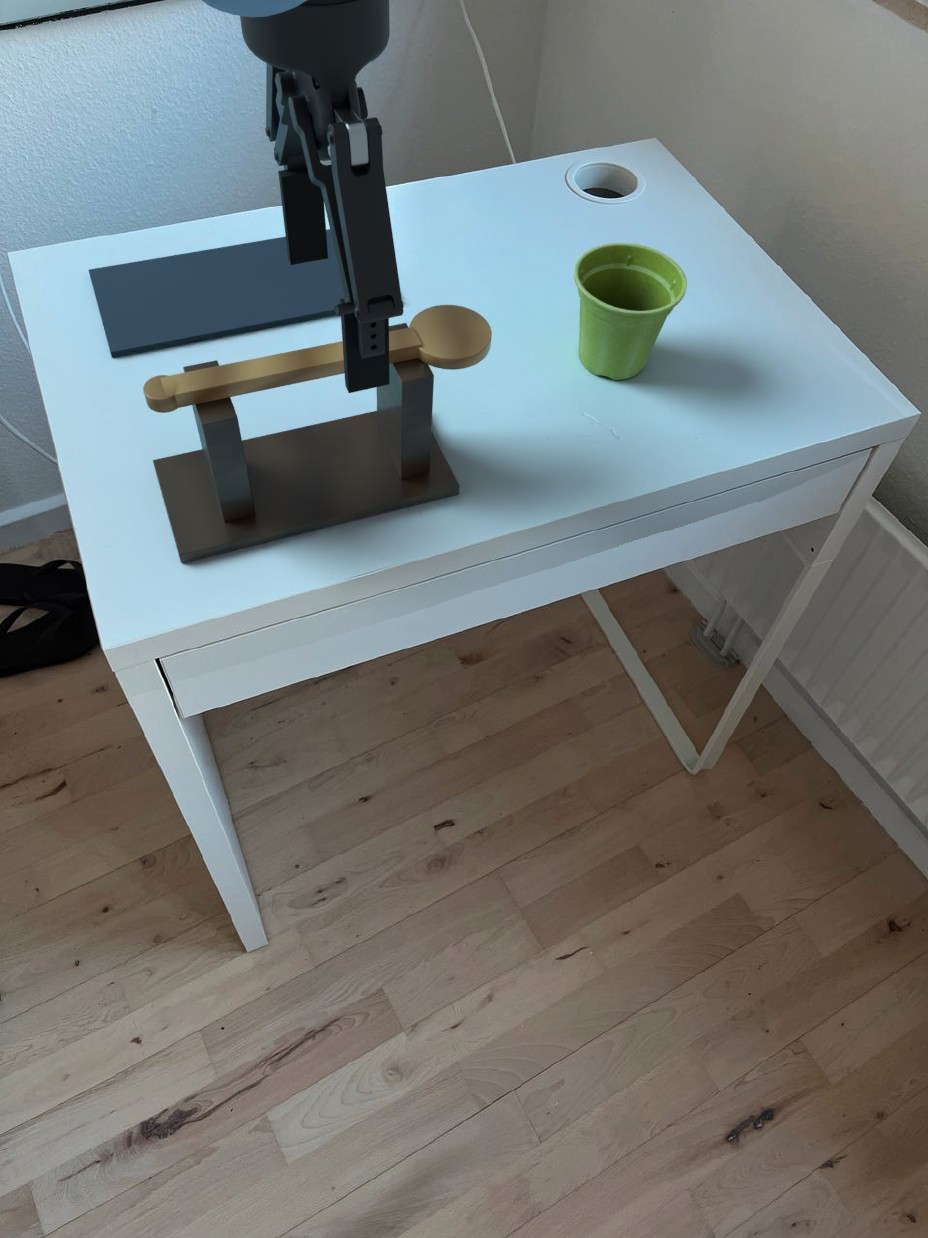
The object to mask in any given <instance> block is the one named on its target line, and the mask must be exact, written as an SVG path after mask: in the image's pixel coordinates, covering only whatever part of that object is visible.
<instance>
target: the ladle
mask: <svg viewBox="0 0 928 1238" xmlns="http://www.w3.org/2000/svg"><path fill="white" fill-rule="evenodd" d="M408 327H409V328H406V329H401V330H396V331H391V332H389V364H392V363H397V362H401V361H406V360H411V359H416V358H418V359H420V360H421V361H422V362H424V363H426V364H428V365H429V367H434V368H436V369H442V370H451V371H452V370H455V371H456V370H463V369H467V368H471V367H473V366H475V365H477V364H479V363H481V362H482V361H483V360H484V359H485V358H486V357H487V356H488V355H489V353H490V351H491V346H492V338H493V333H492V327H491V325H490V323H489V322H488V321H487V319H486V318H485V316H483V315H481V314H480V313H479V312H477V311H475V310H473V309H471V308H468V307H466V306H462V305H457V304H439V305H434V306H430V307H427V308H425V309H423V310H421V311H420V312H418V313H417V314H415V315H414V317H413V318H412V320H411V321H410V322H409V325H408ZM343 374H344V375H345V373H344V357H343V341H342V340H340V341H336V342H331V343H326V344H321V345H315V346H311V347H305V348H301V349H295V350H291V351H286V352H280V353H276V354H271V355H265V356H261V357H256V358H255V357H254V358H250V359H246V360H241V361H236V362H231V363H226V364H219V366H215V367H210V368H205V369H200V370H195V371H190V372H185V373H184V372H181V373H176V374H170V375H168V374H167V375H166V374H160V375H155V376H152V377H150V378H149V379H148V380H146V381H145V383H144V385H143V387H142V391H143V395H144V399H145V402H146V405H147V408H149V409H150V410H151V411H153V412H156V413H160V414H166V413H171V412H174V411H176V410H178V409H180V408H185V407H189V406H192V405H195V404H200V403H205V402H210V401H214V400H219V399H224V398H229V397H231V398H234V397H238V396H242V395H248V394H252V393H257V392H263V391H267V390H272V389H277V388H281V387H286V386H290V385H296V384H301V383H304V382H310V381H314V380H319V379H324V378H325V379H326V378H329V377H334V376H338V375H343Z"/></svg>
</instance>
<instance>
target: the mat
mask: <svg viewBox="0 0 928 1238" xmlns="http://www.w3.org/2000/svg"><path fill="white" fill-rule="evenodd" d="M326 236H327V249H328V258H327V259H322V260H316V261H311V262H305V263H300V264H294V265H291V264H290V262H289V260H288V253H287V244H286V236H281V237H275V238H268V239H263V240H262V239H261V240H257V241H249V242H245V243H244V242H243V243H239V244H233V245H228V246H222V247H215V248H209V249H202V250H197V251H191V252H186V253H179V254H173V255H167V256H162V257H155V258H150V259H149V258H148V259H143V260H137V261H131V262H125V263H119V264H115V265H108V266H102V267H96V268H95V267H94V268H90V269H88V273H89V277H90V281H91V286H92V289H93V293H94V296H95V300H96V304H97V309H98V312H99V315H100V320H101V322H102V327H103V330H104V334H105V338H106V341H107V345H108V349H109V352H110V355H111V358H118V357H121V356H127V355H128V356H129V355H132V354H137V353H142V352H143V353H144V352H149V351H153V350H158V349H163V348H169V347H174V346H180V345H184V344H190V343H194V342H201V341H206V340H210V339H215V338H221V337H226V336H231V335H237V334H242V333H246V332H253V331H258V330H263V329H268V328H275V327H278V326H284V325H289V324H293V323H294V324H295V323H299V322H303V321H304V322H305V321H309V320H315V319H320V318H325V317H331V316H337V314H336V312H335V309H334V306H335V305H337V304H340V299H343V298H345V294H344V290H343V285H342V281H341V276H340V272H339V267H338V263H337V258H336V254H335V249H334V245H333V240H332V236H331V231H330V228H328V229H326Z"/></svg>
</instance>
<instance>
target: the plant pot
mask: <svg viewBox="0 0 928 1238" xmlns="http://www.w3.org/2000/svg"><path fill="white" fill-rule="evenodd" d="M573 279H574V284H575V285H576V287H577V292H578V293H577V294H578V296H579V323H578V325H579V326H578V328H579V329H578V330H579V331H578V359H579V361H580V363H581V364H582V366H583V367H584V368H585V369H586V370H587V371H588V372H590V373H592V374H594V375H595V376H603V377H608V378H610V379H611V380H614V381H617V380H618V381H619V380H620V381H621V380H626V379H630V378H634V377H635V376H637V375H638V374H639V373H641V372H642V371H643V369H644V368H645V366H646V364H647V362H648V360H649V358H650V355H651V352H652V350H653V348H654V346H655V343H656V341H657V340H658V337H659V335H660V333H661V331H662V328H663V326H664V325H665V322H666V320H667V317H668V316H669V315H670V314H671V313H672V312H673V310H674V308H675V307H676V306H678V305H679V303H680V302H682V300H683V299H684V296H685V295H686V293H687V288H688V281H687V277H686V274H685V272H684V270H683V269H682V267H681V266H680V265H679V264H678V263H677V262H676V261H675V260H674V259H672V258H671V256H668V255H667V254H665V253H663V252H661V251H659V250H657V249H655V248H651V247H649V246H646V245H642V244H638V243H631V242H609V243H605V244H604V243H603V244H601V245H597V246H595V247H592V248H590V249H589V250H587V251H585V252H584V253H583V254H581V255H580V256H579V258H578V259H577V260H576V262H575V265H574V267H573Z"/></svg>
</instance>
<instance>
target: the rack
mask: <svg viewBox="0 0 928 1238" xmlns="http://www.w3.org/2000/svg"><path fill="white" fill-rule="evenodd" d="M406 328H409V325H408V324H407V322H403V323H398V324H393V325H392V324H391V325H389V332H391V331H396V330H401V329H406ZM215 366H220V364H219V361H218V360H217V359H216V360H212V361H207V362H206V361H205V362H201V363H196V364H191V365H185V366H183V367H182V369H183V373H185V372H190V371H195V370H200V369H205V368H210V367H215ZM389 373H390V384H389V385H384V386H380V387H376V410H374V411H369V412H365V413H364V412H363V413H359V414H356V415H355V414H354V415H352V416H351V415H350V416H347V417H342V418H338V419H333V420H329V421H324V422H320V423H315V424H310V425H305V426H301V427H297V428H292V429H288V430H283V431H277V432H274V433H269V434H265V435H261V436H256V437H252V438H246V439H243V440H242V434H241V429H240V422H239V418H238V415H237V413H236V409H235V406H234V403H233V401H232V400H233V399H232V397H229V398H224V399H219V400H214V401H210V402H205V403H200V404H195V405H191V406H192V407H191V408H192V412H193V415H194V420H195V424H196V428H197V432H198V436H199V441H200V445H201V449H197V450H193V451H192V450H191V451H188V452H184V453H179V454H174V455H170V456H166V457H161V458H156V459H153V460H152V463H153V467H154V471H155V474H156V478H157V481H158V485H159V488H160V493H161V496H162V499H163V504H164V508H165V510H166V514H167V518H168V521H169V525H170V529H171V531H172V536H173V539H174V543H175V547H176V550H177V555H178V557H179V560H180V563H181V564H184V563H189V562H193V561H197V560H200V559H205V558H208V557H213V556H216V555H217V556H218V555H221V554H224V553H229V552H233V551H237V550H240V549H244V548H249V547H253V546H258V545H261V544H265V543H269V542H272V541H278V540H281V539H285V538H288V537H293V536H296V535H297V536H298V535H301V534H305V533H308V532H313V531H316V530H322V529H324V528H329V527H332V526H337V525H341V524H344V523H348V522H349V523H350V522H353V521H356V520H361V519H365V518H369V517H372V516H373V517H374V516H376V515H377V516H378V515H380V514H386V513H390V512H393V511H397V510H400V509H405V508H409V507H412V506H417V505H420V504H421V505H422V504H424V503H425V504H426V503H428V502H429V503H430V502H432V501H436V500H441V499H446V498H449V497H452V496H458V495H459V494H460V487H461V485H460V484H459V481H458V480H457V478H456V476H455V474H454V472H453V470H452V468H451V466H450V464H449V462H448V460H447V458H446V456H445V454H444V451H443V449H442V448H441V446H440V444H439V442H438V440H437V438H436V436H435V434H434V432H433V429H432V428H433V427H432V426H433V407H434V406H433V405H434V386H435V385H434V381H435V374H434V373H433V371H432V368H431V366H430V365H428V364H426V363H424V362H422V361H421V360H420V359H418V358H416V359H411V360H406V361H401V362H397V363H392V364H389Z"/></svg>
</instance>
